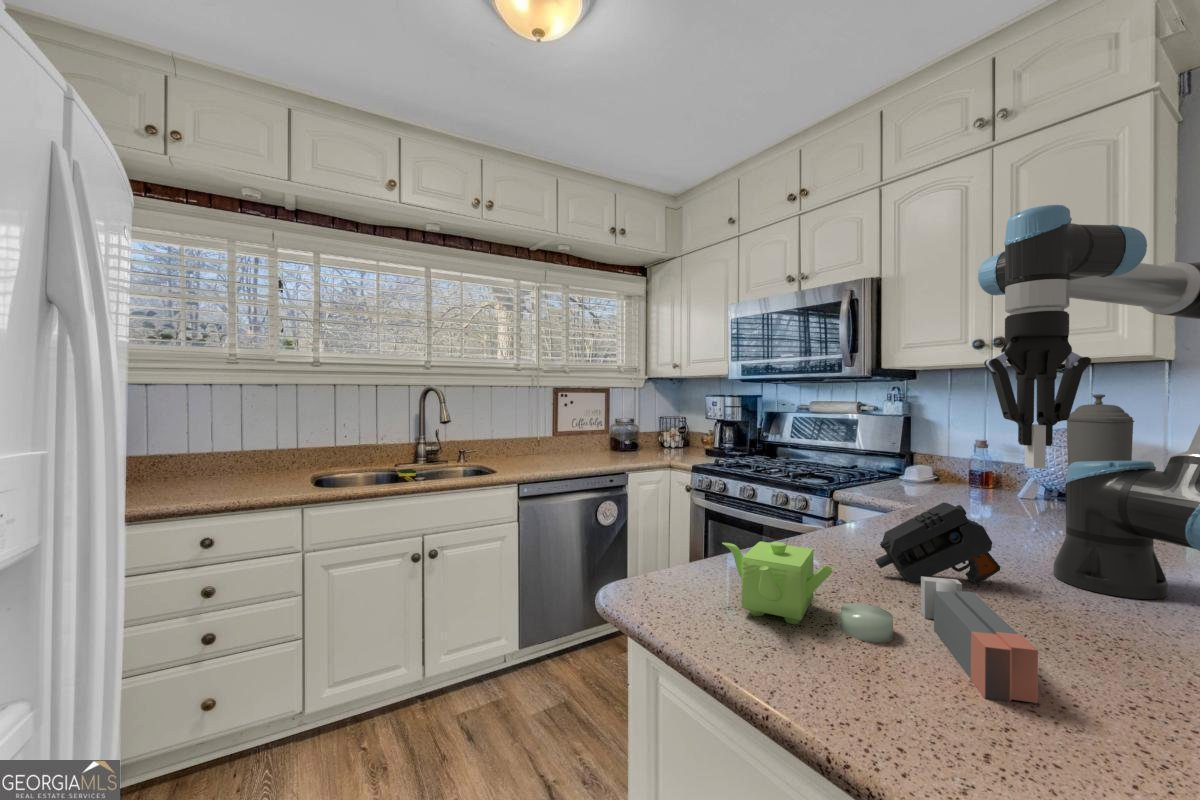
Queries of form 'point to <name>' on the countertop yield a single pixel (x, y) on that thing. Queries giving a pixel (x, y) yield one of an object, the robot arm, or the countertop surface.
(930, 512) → the tool
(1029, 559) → the countertop surface
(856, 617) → the grey-green pebble
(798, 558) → the kettle
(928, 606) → the tongs base
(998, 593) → the countertop surface
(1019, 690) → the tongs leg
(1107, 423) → the canister
